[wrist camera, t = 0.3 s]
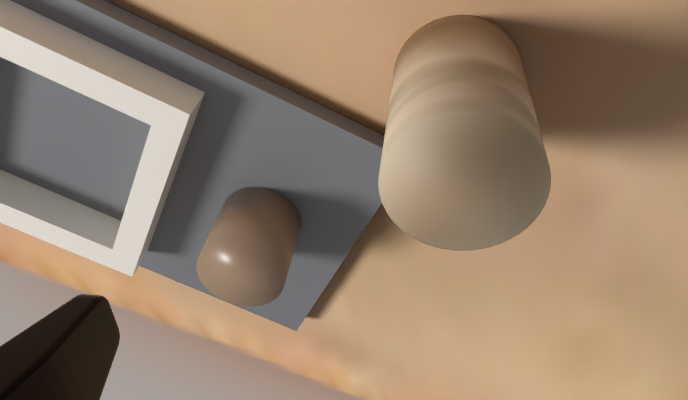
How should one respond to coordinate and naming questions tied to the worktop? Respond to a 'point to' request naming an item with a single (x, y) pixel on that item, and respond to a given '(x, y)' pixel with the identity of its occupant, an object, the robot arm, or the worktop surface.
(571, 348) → the worktop surface
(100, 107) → the board
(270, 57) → the worktop surface
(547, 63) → the worktop surface
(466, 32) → the beige rounded cylinder
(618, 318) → the worktop surface
